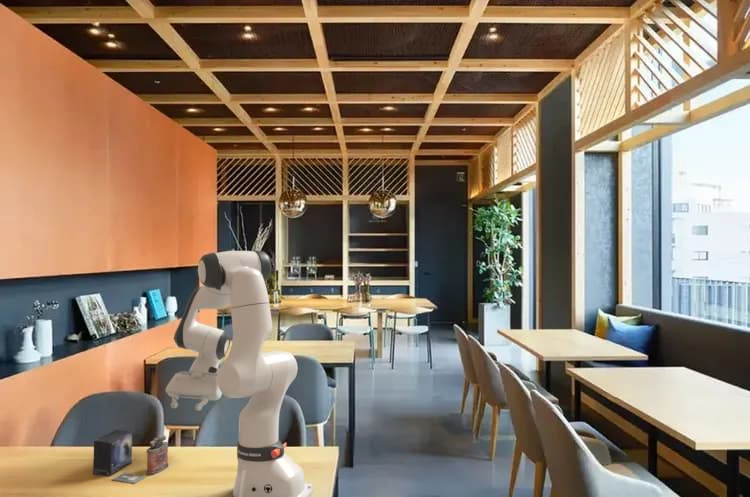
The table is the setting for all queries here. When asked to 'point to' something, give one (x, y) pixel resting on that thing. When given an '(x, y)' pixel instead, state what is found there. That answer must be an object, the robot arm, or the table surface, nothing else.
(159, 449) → the lighter
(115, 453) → the small box
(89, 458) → the table surface
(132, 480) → the card
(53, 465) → the table surface
